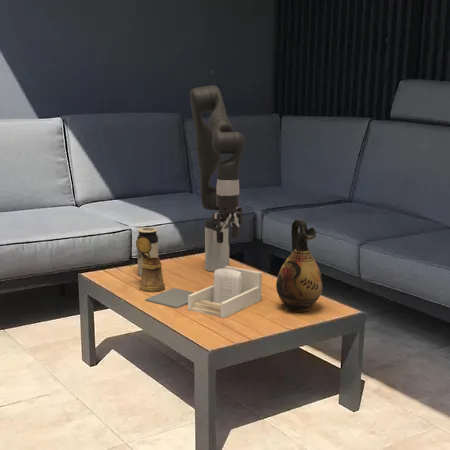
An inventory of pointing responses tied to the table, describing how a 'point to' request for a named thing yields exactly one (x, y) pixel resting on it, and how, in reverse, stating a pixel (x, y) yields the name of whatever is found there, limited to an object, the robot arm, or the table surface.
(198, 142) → the robot arm
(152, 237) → the travel mug
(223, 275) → the photo printer
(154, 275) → the wooden mug
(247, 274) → the rack
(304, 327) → the table surface
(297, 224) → the ceramic jug
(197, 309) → the offcut stack
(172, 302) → the mat
